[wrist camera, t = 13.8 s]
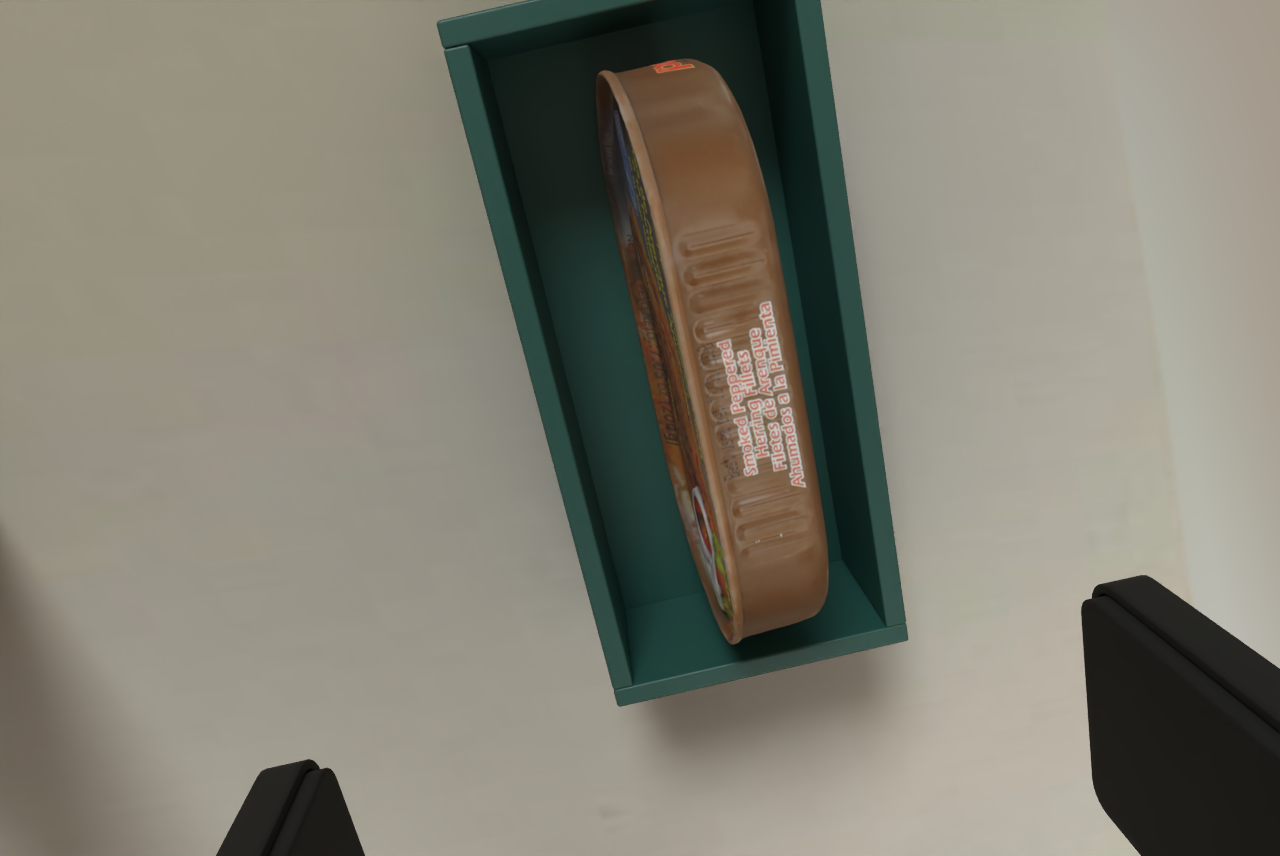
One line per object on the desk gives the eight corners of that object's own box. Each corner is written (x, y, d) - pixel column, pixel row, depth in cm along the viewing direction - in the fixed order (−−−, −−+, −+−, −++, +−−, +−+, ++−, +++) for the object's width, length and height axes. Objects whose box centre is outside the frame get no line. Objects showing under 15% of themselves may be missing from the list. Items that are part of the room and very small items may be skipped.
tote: (856, 562, 31) (909, 641, 26) (611, 618, 31) (618, 708, 26) (765, -25, 25) (812, -66, 20) (462, 44, 25) (435, 20, 20)
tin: (583, 86, 25) (588, 58, 17) (693, 61, 25) (750, 21, 17) (687, 560, 29) (730, 715, 21) (779, 539, 29) (856, 686, 21)
